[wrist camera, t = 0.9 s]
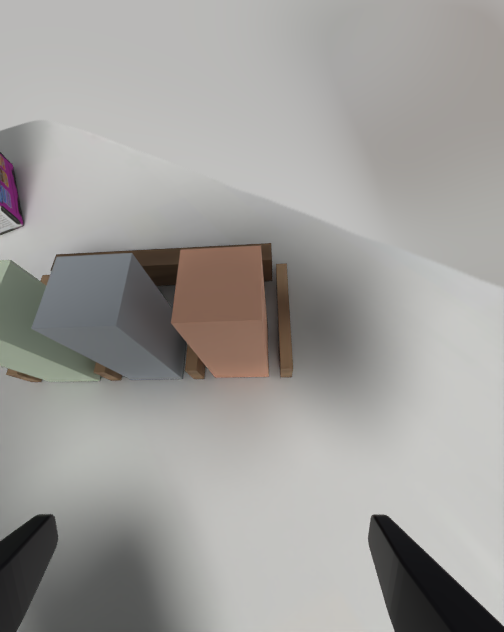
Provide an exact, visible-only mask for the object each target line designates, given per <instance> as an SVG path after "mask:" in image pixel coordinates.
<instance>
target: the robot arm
mask: <svg viewBox="0 0 504 632" xmlns="http://www.w3.org/2000/svg"><path fill="white" fill-rule="evenodd" d="M57 542H58V533H57V527H56V521H55V517H54V516H53V515H52V514H39V515H37V516H35V517H33V518H32V519H30V520H29V521H28V522H26V523H25V524H24V525H22V526H21V527H19V528H18V529H17V530H15V531H14V532H12V533H11V534H10V535H8V536H7V537H5V538H4V539H3V540H1V541H0V632H16V631H17V629H18V627H19V625H20V623H21V622H22V620H23V618H24V616H25V614H26V612H27V610H28V607H29V605H30V603H31V601H32V599H33V597H34V594H35V592H36V590H37V588H38V586H39V584H40V581H41V579H42V577H43V575H44V573H45V570H46V568H47V566H48V564H49V562H50V559H51V557H52V555H53V553H54V551H55V549H56V546H57ZM368 542H369V547H370V551H371V555H372V558H373V562H374V565H375V569H376V572H377V576H378V579H379V582H380V586H381V589H382V593H383V596H384V600H385V603H386V607H387V610H388V613H389V617H390V619H391V622H392V625H393V628H394V631H395V632H504V626H503V625H502V624H501V623H500V622H499V621H498V620H497V619H496V618H495V617H493V616H492V615H491V614H490V613H489V612H488V611H487V610H486V609H485V608H484V607H483V606H482V605H481V604H480V603H479V602H478V601H477V600H476V599H475V598H474V597H472V596H471V595H470V594H469V593H468V592H467V591H466V590H465V589H464V588H463V587H462V586H461V585H460V584H459V583H458V582H457V581H456V580H455V579H454V578H453V577H451V576H450V575H449V574H448V573H447V572H446V571H445V570H444V569H443V568H442V567H441V566H440V565H439V564H438V563H437V562H436V561H435V560H434V559H433V558H432V557H430V556H429V555H428V554H427V553H426V552H425V551H424V550H423V549H422V548H421V547H420V546H419V545H418V544H417V543H416V542H415V541H414V540H413V539H412V538H411V537H409V536H408V535H407V534H406V533H405V532H404V531H403V530H402V529H401V528H400V527H399V526H398V525H397V524H396V523H395V522H394V521H393V520H392V519H391V518H390V517H388V516H387V515H372V516H371V520H370V527H369V534H368Z"/></svg>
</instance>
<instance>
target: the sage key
mask: <svg viewBox="0 0 504 632" xmlns="http://www.w3.org/2000/svg"><path fill="white" fill-rule="evenodd" d="M45 288H46V285H45V284H43V283H42V282H40V281H39V280H38V279H36V278H35V277H34V276H32V275H31V274H29V273H28V272H27V271H25V270H24V269H23V268H21V267H20V266H19V265H17V264H16V263H14V262H13V261H12V260H1V261H0V366H2V367H5V368H8V369H12V370H15V371H18V372H21V373H24V374H27V375H30V376H33V377H37V378H40V379H43V380H46V381H49V382H77V381H100V378H101V376H100V375H98V374H95V373H93V372H94V368H95V364H96V362H95V361H93V360H91V359H89V358H87V357H86V356H84V355H82V354H80V353H78V352H76V351H74V350H72V349H70V348H68V347H66V346H64V345H62V344H60V343H58V342H56V341H54V340H52V339H50V338H48V337H46V336H44V335H42V334H41V333H39V332H37V331H35V330H33V329H31V328H32V325H33V322H34V319H35V316H36V314H37V311H38V308H39V305H40V302H41V300H42V297H43V294H44V291H45Z"/></svg>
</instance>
